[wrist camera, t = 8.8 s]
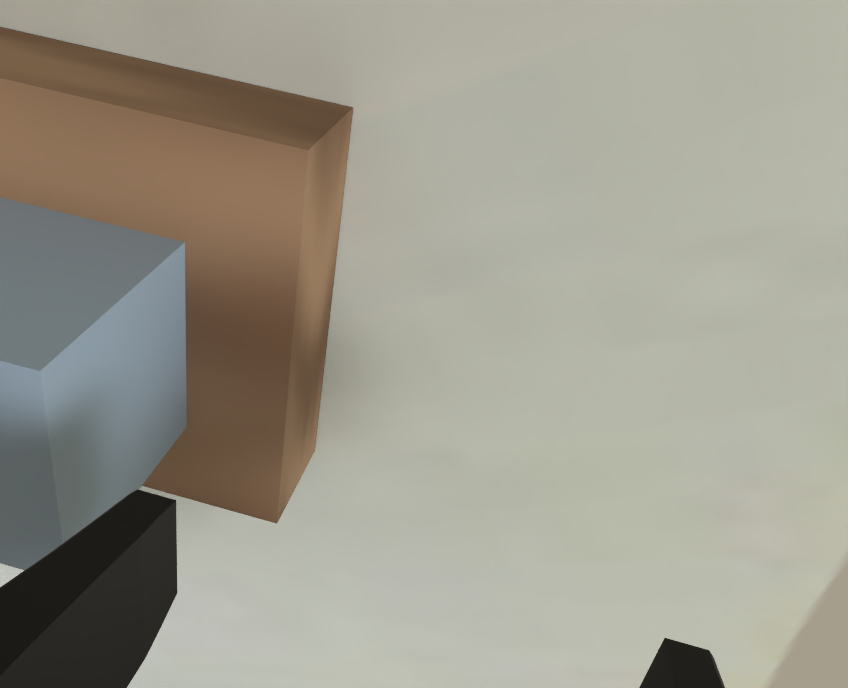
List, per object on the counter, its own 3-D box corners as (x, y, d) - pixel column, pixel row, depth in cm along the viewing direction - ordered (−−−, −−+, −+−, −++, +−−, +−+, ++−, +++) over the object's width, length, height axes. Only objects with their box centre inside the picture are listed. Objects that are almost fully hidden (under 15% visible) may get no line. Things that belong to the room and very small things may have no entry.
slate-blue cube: (187, 426, 20) (67, 582, 15) (-3, 376, 20) (-167, 514, 16) (184, 241, 17) (39, 371, 13) (-34, 188, 17) (-242, 296, 13)
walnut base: (314, 450, 23) (276, 523, 21) (-6, 364, 24) (-79, 423, 22) (352, 107, 18) (308, 150, 15) (-62, 12, 19) (-168, 38, 16)
